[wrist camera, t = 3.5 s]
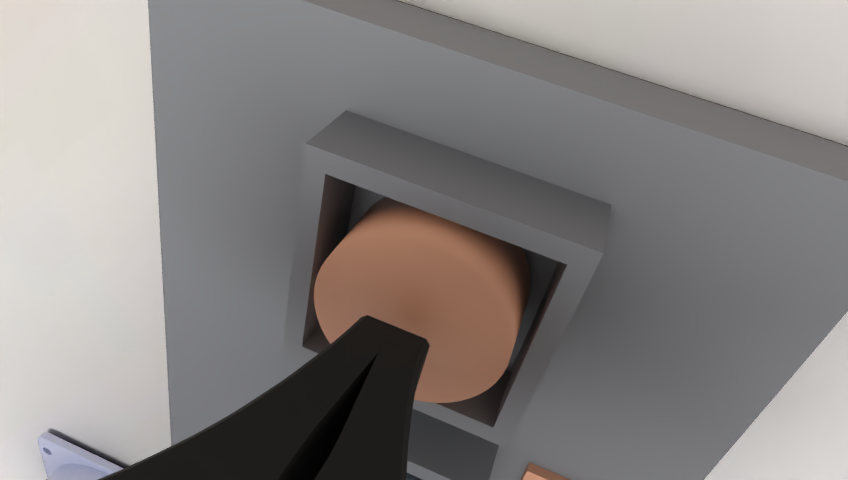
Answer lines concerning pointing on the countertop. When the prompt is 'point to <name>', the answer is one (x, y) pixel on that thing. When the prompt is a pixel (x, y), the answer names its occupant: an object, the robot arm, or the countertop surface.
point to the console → (490, 229)
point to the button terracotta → (429, 294)
